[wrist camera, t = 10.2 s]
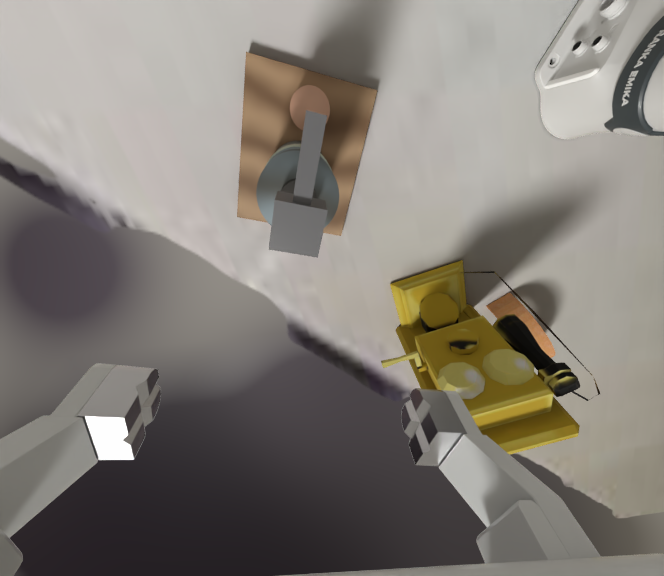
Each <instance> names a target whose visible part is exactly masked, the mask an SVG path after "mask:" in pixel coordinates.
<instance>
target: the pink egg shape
mask: <svg viewBox="0 0 664 576" xmlns="http://www.w3.org/2000/svg"><path fill="white" fill-rule="evenodd" d="M306 110H308V111H311V112H315V113H319V114H323V115H327V120H326V123H327V121H328V118H329V115H330V105H329V101H328V98H327V96H326V95H325V93H324V92H323V91H322V90H321V89H319V88H318V87H316V86H313V85H305V86H302V87H300V88H299V89H298V90H296V92H295V93H294V94H293V96H292V98H291V102H290V114H291V117H292V120H293V122H294V123H295V125H296V126H297V127H298V128H299V129H301V130H303V127H304V121H305V114H306Z"/></svg>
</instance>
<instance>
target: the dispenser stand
mask: <svg viewBox="0 0 664 576" xmlns="http://www.w3.org/2000/svg"><path fill="white" fill-rule="evenodd" d="M305 85H313V86H316V87H318V88H319V89H321V90H322V91H323V92H324V93H325V95H326V96H327V98H328V101H329V105H330V115H329V118H328V121H327V123H326V125H325V131H324V136H323V141H322V147H321V152H320V158H319V163H318V169H317V174H316V179H315V185H314V190H313V196H312V198H316V199H321V200H325V202H326V206H327V209H328V212H327V216H326V221H325V226H324V230H323V233H328V234H334V235H339V236H341V233H342V229H343V225H344V222H345V218H346V214H347V210H348V206H349V202H350V198H351V194H352V190H353V186H354V182H355V178H356V174H357V170H358V166H359V162H360V158H361V154H362V150H363V146H364V142H365V138H366V134H367V130H368V126H369V122H370V118H371V114H372V110H373V106H374V102H375V98H376V94H377V90H374V89H371V88H368V87H364V86H361V85H357V84H354V83H351V82H347V81H344V80H340V79H337V78H333V77H330V76H327V75H323V74H320V73H316V72H313V71H310V70H306V69H303V68H299V67H296V66H292V65H289V64H286V63H282V62H279V61H275V60H272V59H269V58H265V57H262V56H258V55H255V54H251V53H248V52H246V65H245V83H244V101H243V119H242V138H241V156H240V174H239V192H238V210H237V217H240V218H246V219H251V220H257V221H262V222H268V223H269V224H270V225H271V226H272V218H273V209H274V201H275V197H276V194H277V191H282V192H287V193H292V194H294V187H295V180H296V174H297V167H298V161H299V154H300V147H301V141H302V134H303V130H301V129H299V128H298V127H297V126H296V125H295V123H294V122H293V120H292V117H291V114H290V102H291V98H292V96H293V94H294V93H295V92H296V90H298V89H299V88H300V87H302V86H305Z"/></svg>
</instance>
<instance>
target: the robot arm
mask: <svg viewBox="0 0 664 576" xmlns="http://www.w3.org/2000/svg"><path fill="white" fill-rule="evenodd" d="M551 59H552V63H551V64H550V60H551ZM535 81H536V84H537V86H538V88H539V90H540V97H541V100H540V111H541V117H542V121H543V123H544V126H545V127H546V129H547V130H548V131H549V132H550V133H551V134H552V135H553V136H555V137H557V138H561V139H575V138H579V137H582V136H586V135H591V134H597V133H606V132H614V133H616V134H621V135H632V136H664V0H579V1H578V3H577V4H576V6H575V7H574V9H573V11H572V12H571V14H570V15H569V17H568V19H567V20H566V22H565V23H564V25H563V26H562V28H561V30H560V31H559V33H558V34H557V36H556V38H555V39H554V41H553V42H552V44H551V45H550V47H549V49H548V50H547V52H546V53H545V55H544V57H543V58H542V60H541V61H540V63H539V64H538V66H537V68H536V70H535ZM158 379H159V373H158V370H157V369H153V368H142V367H133V366H123V365H110V364H100V363H97V364H95V365H94V366H92V367H91V368H90V369H89V370H88V371H87V372H86V374H85V375H84V376H83V377H82V379H81V380H80V381H79V382H78V383H77V384H76V386H75V387H74V388H73V389H72V390H71V391H70V393H69V394H68V395H67V396H66V397H65V399H64V400H63V401H62V402H61V403H60V405H59V406H58V407H57V408H56V409H55V410H54V412H53V413H52V414H51V415H50V416H42V417H40V418H38V419H36V420H34V421H33V422H31V423H29V424H27V425H25V426H24V427H22V428H20V429H18V430H16V431H14V432H13V433H11V434H9V435H7V436H6V437H4V438H2V439H0V576H13V575H14V574H15V572H16V570H17V569H18V567H19V566H20V564H21V562H22V561H23V557H22V553H21V551H20V550H19V549H18V548H17V547H16V546H15V544H14V543H13V542H12V541H11V540H10V539H9V538H10V537H11V536H12V535H13V534H14V533H16V532H17V531H18V530H19V529H20V528H21V527H23V526H24V525H25V524H26V523H27V522H28V521H30V520H31V519H32V518H33V517H34V516H35V515H37V514H38V513H39V512H40V511H41V510H42V509H43V508H45V507H46V506H47V505H48V504H49V503H50V502H52V501H53V500H54V499H55V498H56V497H57V496H59V495H60V494H61V493H62V492H63V491H64V490H65V489H67V488H68V487H69V486H70V485H71V484H73V483H74V482H75V481H76V480H77V479H78V478H79V477H81V476H82V475H83V474H84V473H85V472H86V471H88V470H89V469H90V468H91V467H92V466H94V465H95V464H96V463H97V460H130V459H131V460H134V458H135V456H136V454H137V452H138V450H139V448H140V446H141V444H142V442H143V440H144V438H145V436H146V435H145V429H144V427H145V426H146V425H148V424H149V423H150V422H152V421H153V419H154V417H155V415H156V412H157V410H158V407H159V404H160V399H161V388H160V387H159V386H158V385H157V384H156V382H157V381H158ZM410 398H411V400H410V401H408V402H407V403H405V404H404V407H403V409H402V415H401V420H402V425H403V429H404V432H405V433H406V434H407V435H408V436H409V437H410V438H411V439H410V442H409V447H410V450H411V453H412V456H413V459H414V462H415V465H426V466H440V467H439V469H440V470H441V471H442V472H443V473H444V475H445V476H446V477H447V478H448V480H449V481H450V482H451V483H452V484H453V485H454V487H455V488H456V489H457V491H458V492H459V493H460V494H461V495H462V497H463V498H464V499H465V501H466V502H467V503H468V504H469V505H470V507H471V508H472V509H473V510H474V512H475V513H476V514H477V515H478V517H479V518H480V519H481V520H482V522H483V523H484V524H485V525H486V526H487V528H486V529H485V530H484V531H483V532H482V533H481V534H480V535H478V537H477V540H476V542H477V544H478V546H479V549H480V552H481V554H482V556H483V559H484V561H485V564H471V565H455V566H439V567H438V566H437V567H421V568H405V569H387V570H369V571H352V572H337V573H318V574H301V575H284V576H664V553H660V554H659V553H658V554H642V555H625V556H609V557H608V556H607V557H601V556H600V555H599V553H598V552H597V550H596V549H595V547H594V546H593V544H592V543H591V542H590V540H589V539H588V537H587V536H586V534H585V533H584V531H583V530H582V528H581V527H580V525H579V524H578V522H577V521H576V520H575V518H574V516H573V515H572V514H571V512H570V511H569V509H568V508H567V506H566V505H565V503H564V502H563V500H562V499H561V498H560V497H559V496H557V495H556V494H555V493H554V492H553V491H552V490H551V489H549V488H548V487H547V486H546V485H545V484H543V483H542V482H541V481H540V480H539V479H538V478H536V477H535V476H534V475H533V474H532V473H530V472H529V471H528V470H527V469H526V468H525V467H523V466H522V465H521V464H520V463H518V462H517V461H516V460H515V459H514V458H512V457H511V456H510V455H509V454H508V453H507V452H506V451H504V450H503V449H502V448H501V447H500V446H499V445H497V444H496V443H495V442H494V441H493V440H491V439H490V438H489V437H488V436H487V435H482V433H481V432H480V430H479V428H478V426H477V425H476V423H475V421H474V419H473V418H472V416H471V414H470V413H469V411H468V409H467V407H466V406H465V404H464V402H463V400H462V399H461V397H460V395H459V394H458V393H457V392H456V391H447V390H436V389H420V388H415V389H413V390H412V391H411V393H410Z"/></svg>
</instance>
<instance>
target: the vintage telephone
mask: <svg viewBox="0 0 664 576" xmlns="http://www.w3.org/2000/svg"><path fill="white" fill-rule="evenodd" d="M464 273H495V272H464V271H463V260H461V261H458V262H455V263H452V264H449V265H446V266H443V267H440V268H437V269H434V270H431V271H428V272H425V273H422V274H419V275H416V276H413V277H410V278H407V279H404V280H401V281H398V282H395V283H392V284H390V286H391V289H392V293H393V297H394V301H395V304H396V308H397V312H398V315H399V319H400V323H401V326H399V327H397V329H396V332H397V335H398V337H399V339H400V342H401V344H402V346H403V348H404V351H405V353H406V355H404V356H401V357H398V358H393V359H388V360H383V361H381V362H382V366H383V368H385V367H388V366H390V365H393V364H395V363H398V362H401V361H405V360H409V362H410V364H411V367H412V369H413V371H414V373H415V376H416V378H417V380H418V382H419V385H420V387H421V389H436V390H447V391H456V392H457V393H458V394H459V395H460V397H461V399H462V400H463V402H464V404H465V406H466V407H467V409H468V411H469V413H470V414H471V416H472V418H473V419H474V421H475V423H476V425H477V426H478V428H479V430H480V432H481V433H482V435H487V436H488V437H489V438H490V439H491V440H493V441H494V442H495V443H496V444H497V445H499V446H500V447H501V448H502V449H503V450H504V451H506V452H507V453H508V454H513V453H516V452H520V451H524V450H528V449H531V448H535V447H539V446H543V445H547V444H550V443H554V442H558V441H562V440H566V439H569V438H573V437H577V436H578V433H579V425H578V424H577V422H576V421H575V420H574V419H573V418H572V417H571V416H570V415H569V414H568V412H567V411H566V410H565V409H564V408H563V407H562V406H561V405H560V403H559V402H558V401H557V400H556V399H555V398H554V397H553V393H554V395H555V396H556V397H559V396H563V395H565V394H567V393H570V392H573V393H574V394H576V395H578V396H580V397H581V398H583V399H585V400H587V401H588V399H586V398H584V397H583V396H581V395H579V394H577V393H575V392H574V390H576V389H578V388H579V387H580V384H579V381H578V378H577V377H576V376H575V375H574V374H573V373H572V372H571V369H570V368H569V367H568V366H567V365H566V364H565V363H555V362H554V361H553V360H552V359H551V358H550V357H549V356H548V355H547V354H546V353H545V352H544V351H543V350H542V349H541V347H540V346H539V344H538V343H537V341H536V340H535V338H534V337H533V335H532V333H531V332H530V330H529V329H528V327H527V326H526V324H525V323H523V322H522V321H521V320H520V319H519V318H518V317H517V316H516V315H515V314H508V315H504V316H503V317H501V318H499V319H497V321H496V322H495V323H494V325H493V326H492V325H491V324H490V323H489V322H488V321H487V320H486V319H485V317H484V316H480V314H479V313H478V312H477V311H476V310H475V309H474V308H473V307H472V306H471V305H466V293H465V282H464ZM499 278H500V277H499ZM500 279H501V278H500ZM501 280H502V279H501ZM502 281H503V280H502ZM503 282H504V281H503ZM504 283H505V282H504ZM505 284H506V283H505ZM506 285H507V284H506ZM507 286H508V285H507ZM508 287H509V286H508ZM509 288H510V287H509ZM510 289H511V288H510ZM511 290H512V289H511ZM512 291H513V290H512ZM513 292H514V291H513ZM514 294H515V295H516V296H517V297H518V298H519V299H520V300H521V301H522V302H523V303H524V304H525V305H526V306H527V307H528V308H529V310H530V311H531V312H532V313H533V314H534V315H535V316H536V317H537V318H538V319H539V320H540V321H541V322H542V323H543V324H544V325H545V326H546V327H547V329H548V330H549V331H550V332H551V333H552V334H553V335H554V336H555V337H556V338H557V339H558V340H559V341H560V342H561V343H562V341H561V340H560V339H559V338H558V337H557V336H556V335H555V334H554V333H553V332H552V330H551V329H550V328H549V327H548V326H547V325H546V324H545V323H544V322H543V321H542V319H541V318H540V317H539V316H538V315H537V314H536V313H535V312H534V311H533V310H532V309H531V308H530V307H529V306H528V305H527V304H526V303H525V302H524V301H523V300H522V299H521V298H520V297H519V296H518V295H517V294H516V293H515V292H514ZM562 344H563V343H562ZM563 345H564V344H563ZM564 346H565V345H564ZM565 347H566V346H565ZM566 349H567V350H568V351H569V352H570V353H571V354H572V352H571V351H570V350H569V349H568V348H567V347H566ZM572 355H573V354H572ZM573 356H574V355H573ZM574 357H575V356H574ZM575 358H576V357H575ZM576 359H577V358H576ZM577 360H578V359H577ZM578 361H579V360H578ZM579 362H580V361H579ZM580 363H581V362H580ZM581 364H582V363H581ZM534 367H535V368H536V369H537V370H538V375H536V374H535V372H534ZM584 368H585V367H584ZM585 369H586V368H585ZM586 370H587V369H586ZM587 371H588V370H587ZM588 372H589V371H588ZM589 373H590V372H589ZM590 374H591V373H590ZM591 375H592V374H591ZM594 381H595V379H594ZM595 384H596V382H595ZM596 387H597V384H596ZM597 391H598V395H599V394H600V392H599V389H598V387H597ZM591 399H592V398H591ZM589 400H590V399H589Z"/></svg>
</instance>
